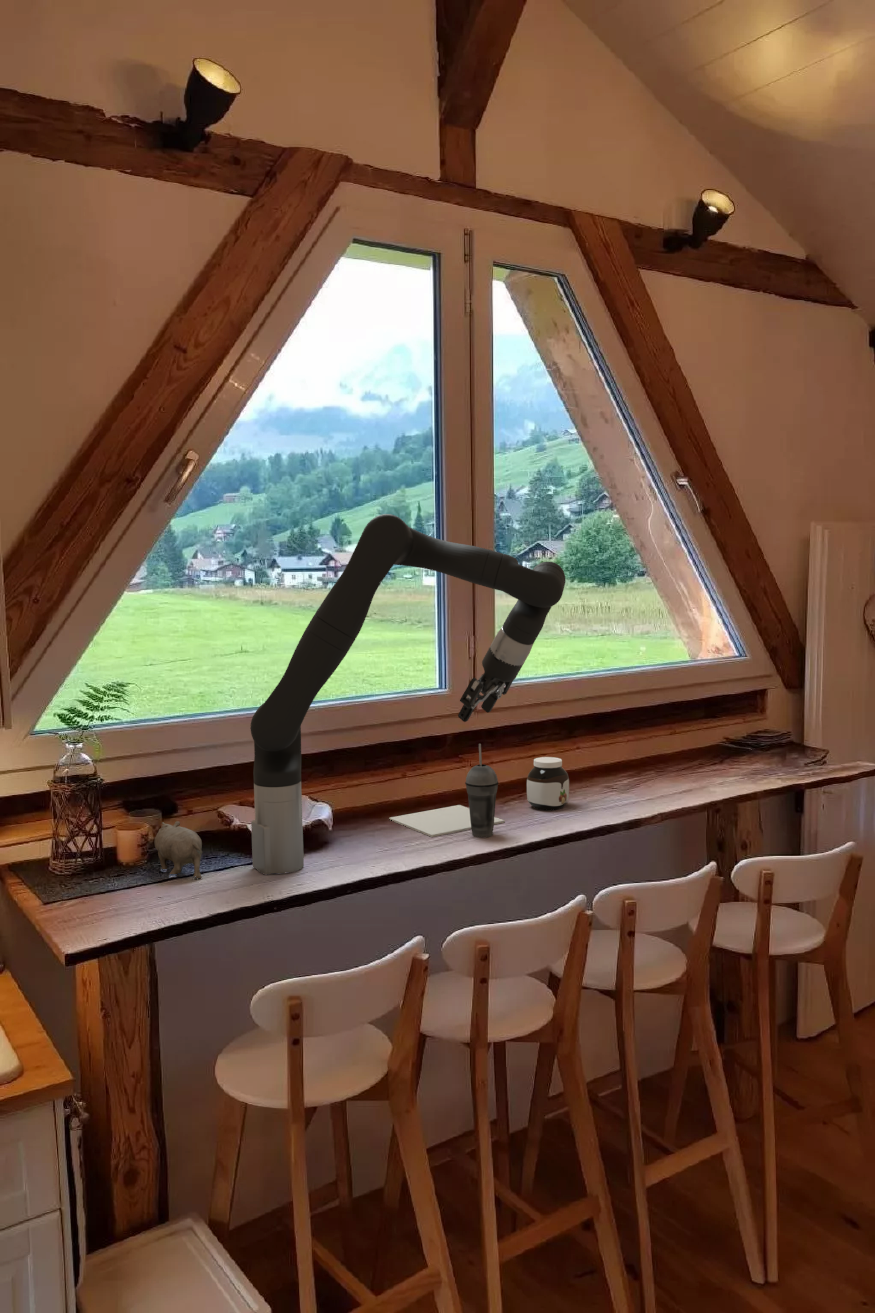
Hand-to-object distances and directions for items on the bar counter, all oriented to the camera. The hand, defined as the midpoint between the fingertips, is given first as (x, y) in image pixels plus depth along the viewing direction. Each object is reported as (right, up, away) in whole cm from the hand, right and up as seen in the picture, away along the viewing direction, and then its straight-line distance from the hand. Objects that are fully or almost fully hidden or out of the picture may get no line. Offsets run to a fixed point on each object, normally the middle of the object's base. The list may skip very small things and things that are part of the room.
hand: (473, 714), depth 207 cm
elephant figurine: (-59, -31, -8) cm, 67 cm away
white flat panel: (-5, -26, +25) cm, 37 cm away
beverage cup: (+2, -27, +14) cm, 31 cm away
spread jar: (+19, -25, +39) cm, 50 cm away
